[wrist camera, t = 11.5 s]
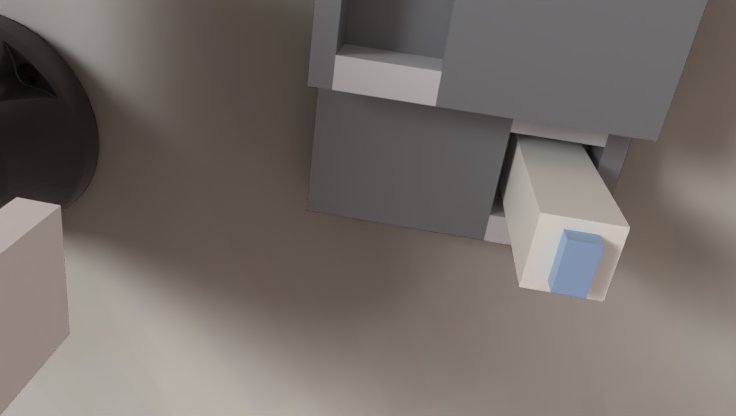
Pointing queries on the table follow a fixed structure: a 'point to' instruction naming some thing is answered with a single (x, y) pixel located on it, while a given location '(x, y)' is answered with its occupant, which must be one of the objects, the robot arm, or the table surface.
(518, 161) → the cream long block
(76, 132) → the robot arm
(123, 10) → the table surface
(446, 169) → the grey socket holder
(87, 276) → the table surface
